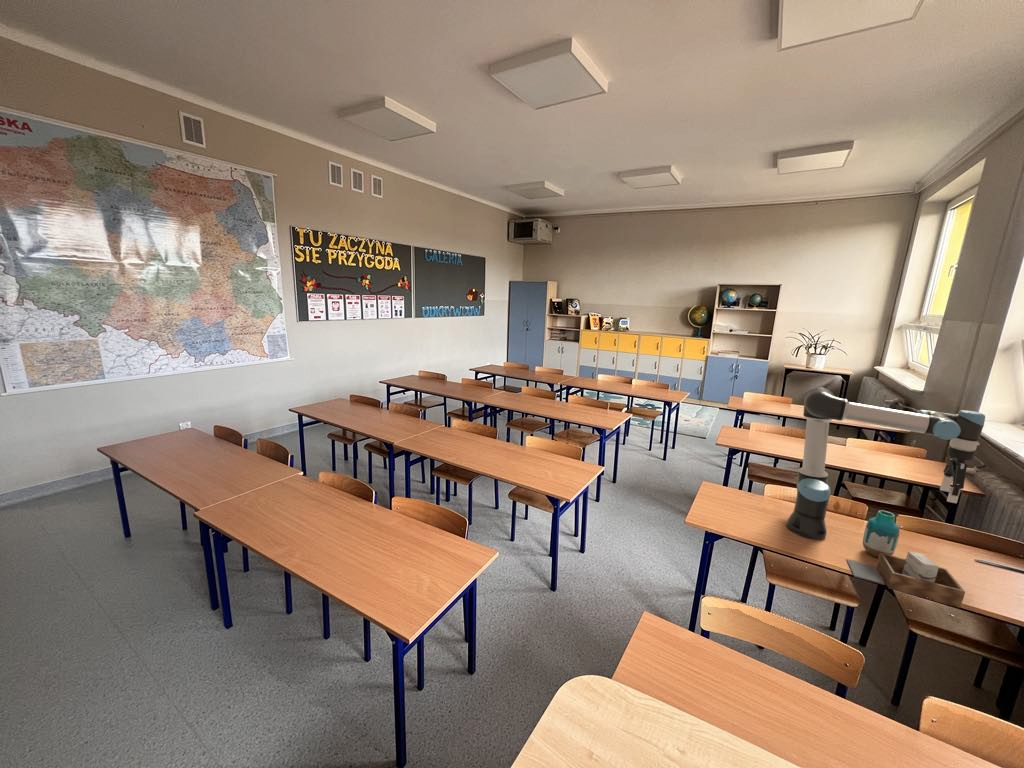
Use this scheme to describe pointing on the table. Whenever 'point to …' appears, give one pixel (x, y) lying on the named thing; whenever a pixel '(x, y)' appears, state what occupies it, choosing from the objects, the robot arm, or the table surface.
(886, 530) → the vase
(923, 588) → the crate
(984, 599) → the table surface
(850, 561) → the zone pad
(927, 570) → the ink box
